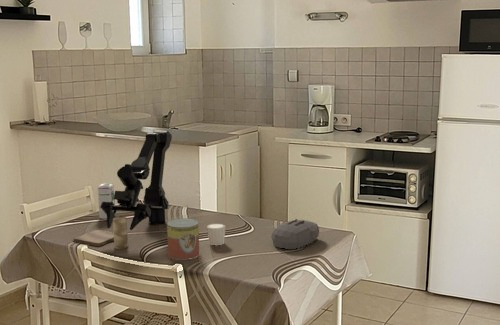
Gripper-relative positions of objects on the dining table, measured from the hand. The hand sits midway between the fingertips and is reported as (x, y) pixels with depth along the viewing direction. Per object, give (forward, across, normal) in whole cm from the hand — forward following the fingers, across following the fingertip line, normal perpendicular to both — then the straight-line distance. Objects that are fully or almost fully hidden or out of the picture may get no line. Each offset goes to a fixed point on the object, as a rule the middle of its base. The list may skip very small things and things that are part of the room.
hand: (119, 228), depth 231 cm
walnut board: (0, -13, +10) cm, 16 cm away
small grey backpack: (-10, +62, +20) cm, 66 cm away
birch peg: (+4, 0, +6) cm, 7 cm away
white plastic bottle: (-21, -25, +31) cm, 45 cm away
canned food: (+6, +26, +4) cm, 27 cm away
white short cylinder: (-4, +33, +15) cm, 37 cm away
